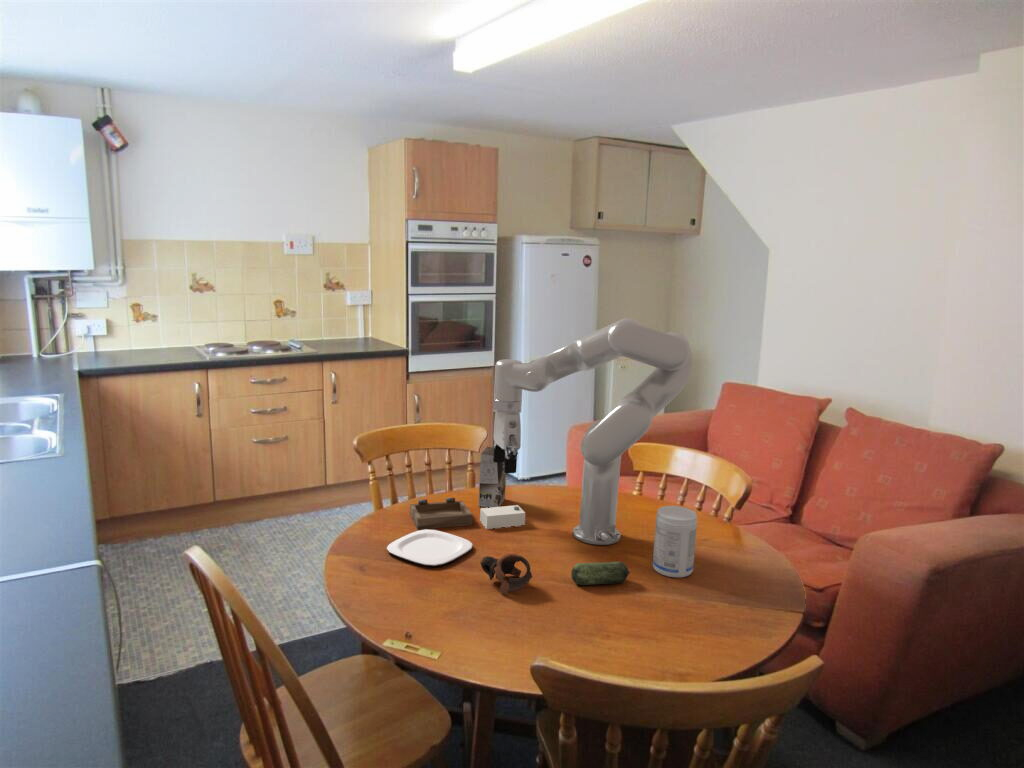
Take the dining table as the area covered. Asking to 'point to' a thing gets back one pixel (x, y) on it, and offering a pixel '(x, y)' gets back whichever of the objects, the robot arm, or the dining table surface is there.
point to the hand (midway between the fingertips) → (504, 467)
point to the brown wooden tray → (440, 514)
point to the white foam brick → (502, 516)
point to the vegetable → (599, 573)
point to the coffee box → (491, 480)
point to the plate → (430, 547)
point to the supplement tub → (674, 541)
